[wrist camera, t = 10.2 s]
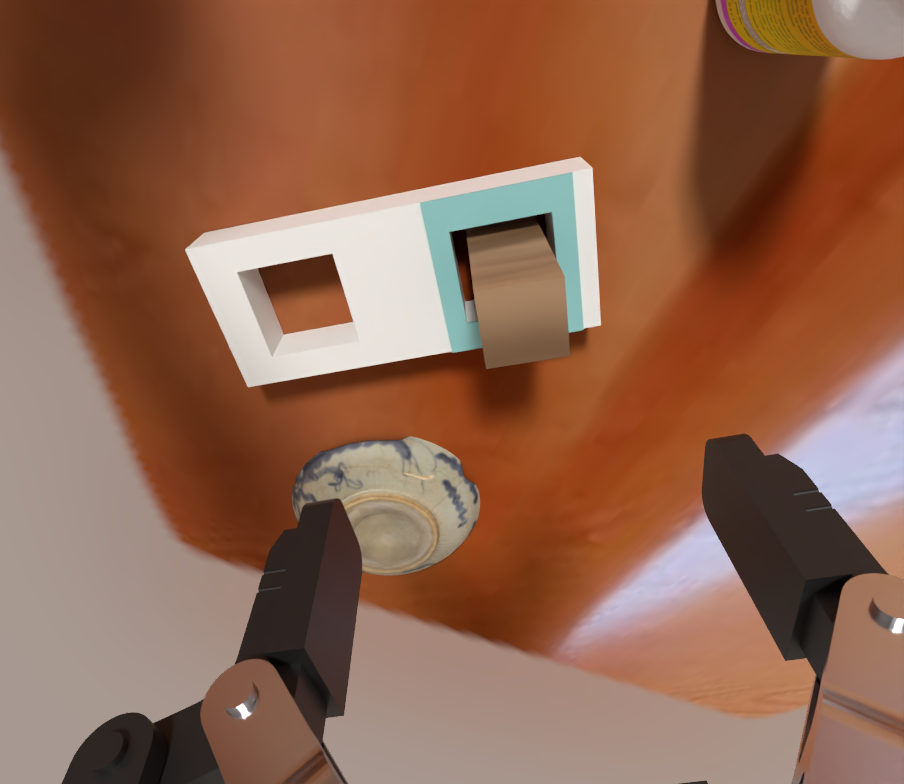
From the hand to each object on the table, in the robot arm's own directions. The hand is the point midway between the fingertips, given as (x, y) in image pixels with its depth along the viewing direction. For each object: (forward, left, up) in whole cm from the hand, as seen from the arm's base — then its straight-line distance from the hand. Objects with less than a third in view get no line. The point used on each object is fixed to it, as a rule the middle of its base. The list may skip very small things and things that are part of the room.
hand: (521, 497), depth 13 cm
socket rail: (+3, -5, -24) cm, 25 cm away
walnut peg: (+3, +1, -24) cm, 24 cm away
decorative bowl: (+22, -11, -25) cm, 35 cm away
